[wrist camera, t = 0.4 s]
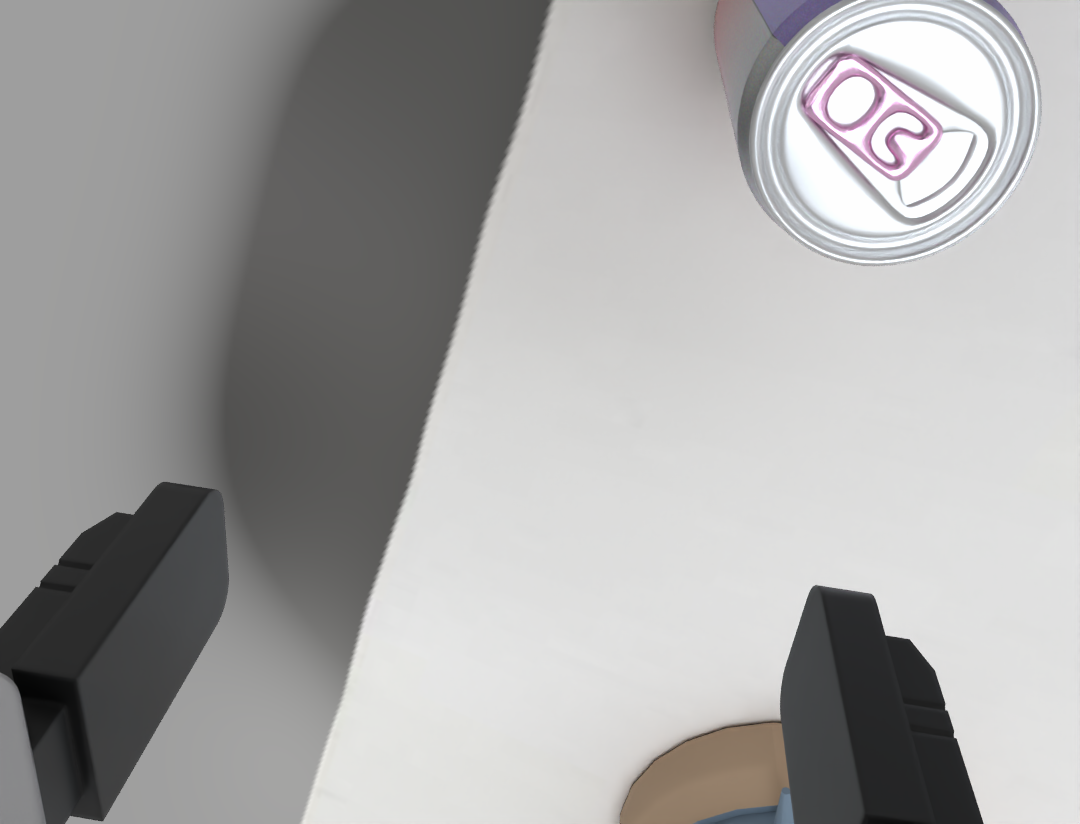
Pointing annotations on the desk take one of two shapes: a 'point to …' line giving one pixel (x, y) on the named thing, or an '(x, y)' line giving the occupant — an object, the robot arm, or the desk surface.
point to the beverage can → (878, 118)
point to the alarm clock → (716, 781)
